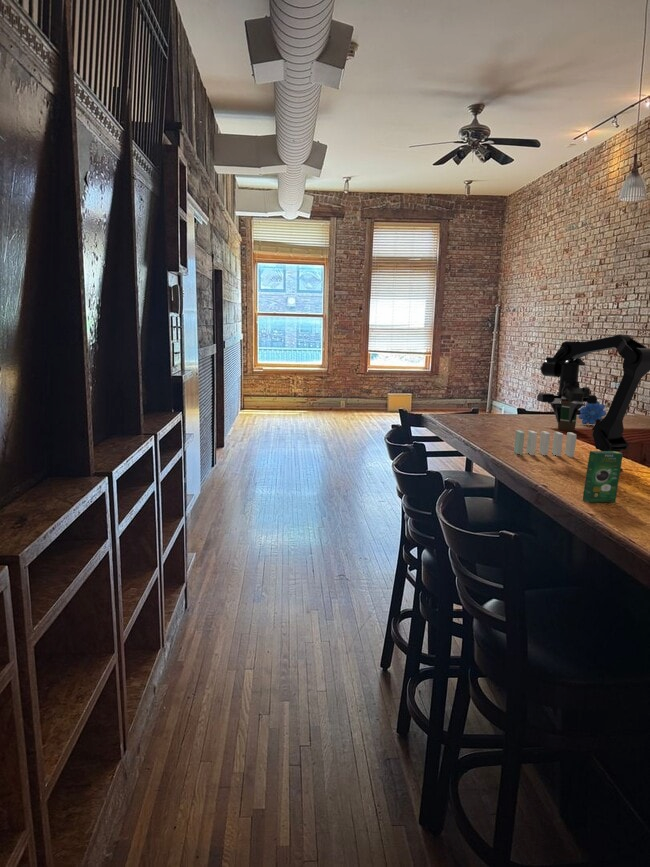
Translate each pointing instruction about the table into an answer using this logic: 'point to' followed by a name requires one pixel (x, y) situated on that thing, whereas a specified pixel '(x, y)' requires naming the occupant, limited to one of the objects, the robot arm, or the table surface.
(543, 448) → the domino
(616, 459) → the coffee box
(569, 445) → the domino
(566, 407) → the beer bottle
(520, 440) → the domino
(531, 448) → the domino
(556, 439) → the domino
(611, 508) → the table surface
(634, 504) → the table surface
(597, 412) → the grapes
